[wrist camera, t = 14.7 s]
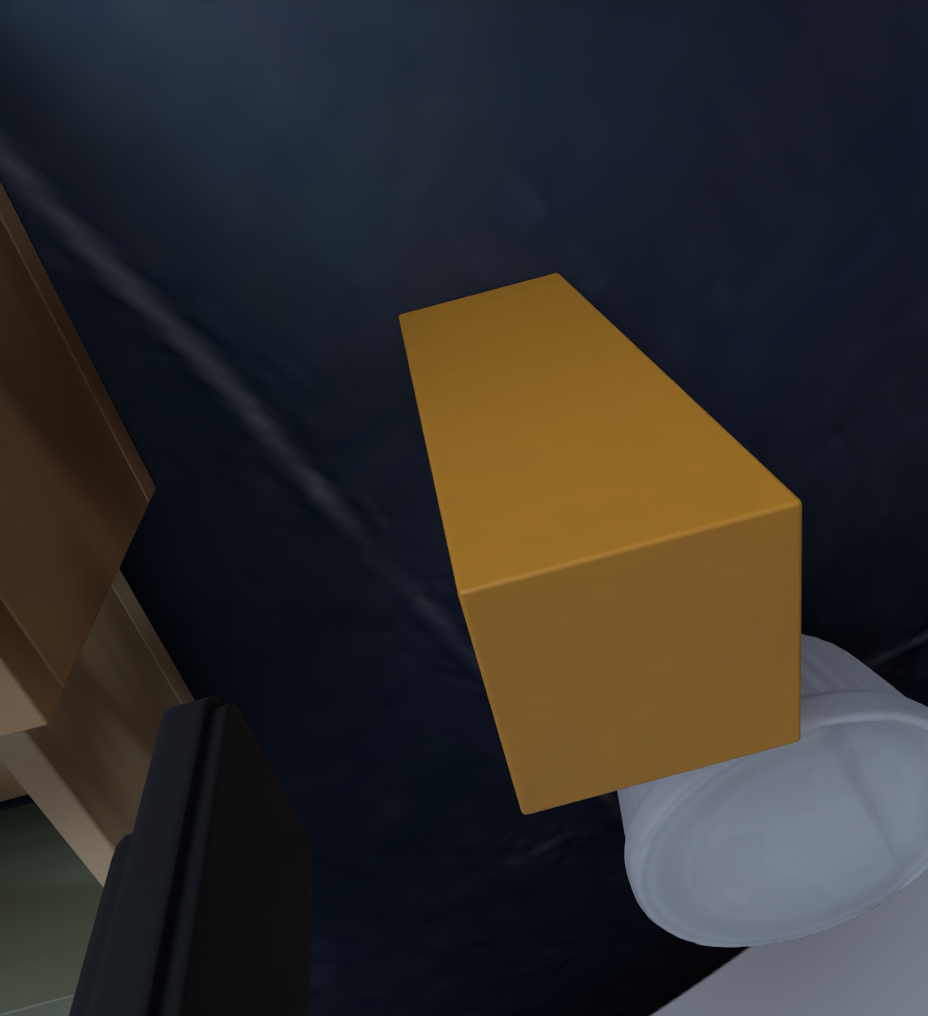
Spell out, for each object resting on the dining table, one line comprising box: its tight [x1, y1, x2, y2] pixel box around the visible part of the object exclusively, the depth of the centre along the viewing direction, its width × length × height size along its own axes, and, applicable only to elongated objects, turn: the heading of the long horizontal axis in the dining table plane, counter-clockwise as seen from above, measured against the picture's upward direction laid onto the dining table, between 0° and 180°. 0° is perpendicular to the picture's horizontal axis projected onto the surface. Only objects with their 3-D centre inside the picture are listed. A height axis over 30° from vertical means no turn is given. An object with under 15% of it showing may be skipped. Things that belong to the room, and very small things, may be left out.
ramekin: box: [617, 634, 928, 947], centre depth 26 cm, size 11×11×5 cm
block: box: [399, 273, 802, 815], centre depth 15 cm, size 4×4×12 cm
